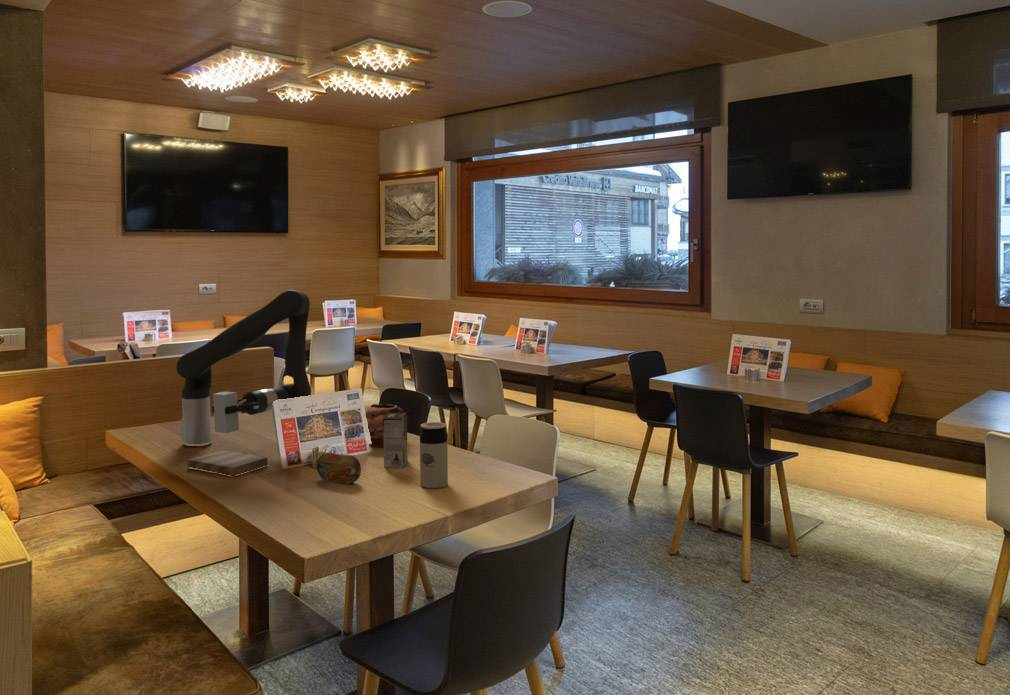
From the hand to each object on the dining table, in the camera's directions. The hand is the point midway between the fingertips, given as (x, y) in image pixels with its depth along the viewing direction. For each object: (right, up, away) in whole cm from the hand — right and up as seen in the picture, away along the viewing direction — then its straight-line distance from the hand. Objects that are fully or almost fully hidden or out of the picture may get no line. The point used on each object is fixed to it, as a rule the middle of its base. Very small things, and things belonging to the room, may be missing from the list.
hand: (219, 410), depth 241 cm
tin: (+40, -21, -11) cm, 46 cm away
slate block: (+1, -7, +3) cm, 7 cm away
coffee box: (+54, -18, +9) cm, 57 cm away
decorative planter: (+46, -15, +38) cm, 61 cm away
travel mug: (+68, -21, -15) cm, 73 cm away
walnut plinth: (+1, -19, +4) cm, 19 cm away
